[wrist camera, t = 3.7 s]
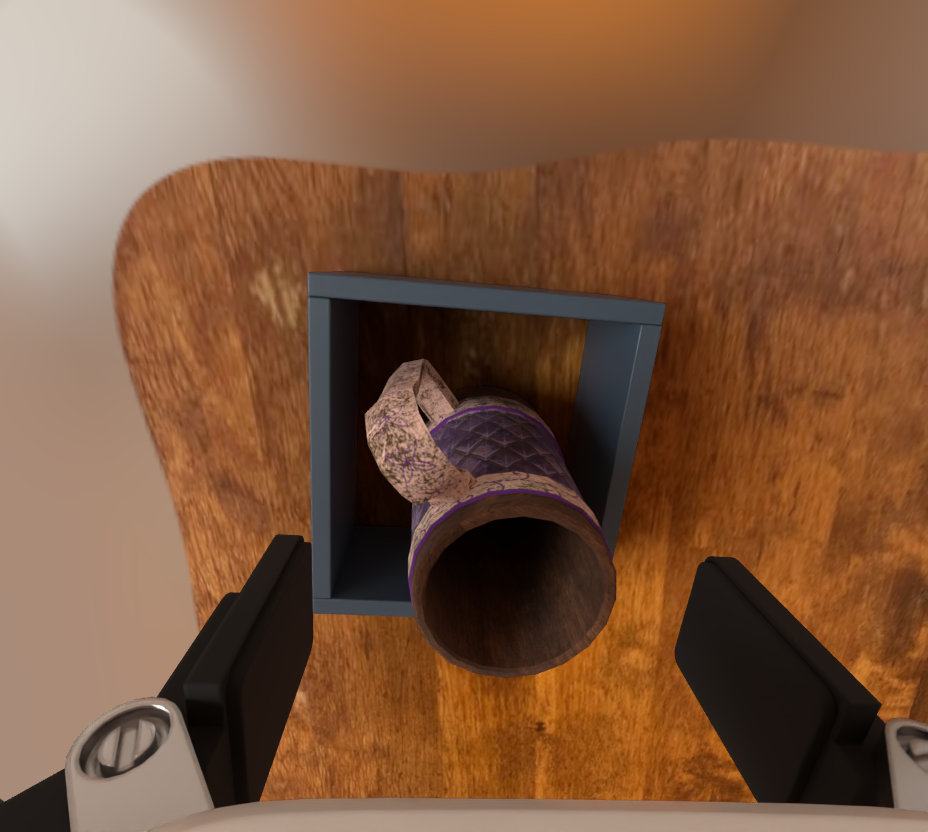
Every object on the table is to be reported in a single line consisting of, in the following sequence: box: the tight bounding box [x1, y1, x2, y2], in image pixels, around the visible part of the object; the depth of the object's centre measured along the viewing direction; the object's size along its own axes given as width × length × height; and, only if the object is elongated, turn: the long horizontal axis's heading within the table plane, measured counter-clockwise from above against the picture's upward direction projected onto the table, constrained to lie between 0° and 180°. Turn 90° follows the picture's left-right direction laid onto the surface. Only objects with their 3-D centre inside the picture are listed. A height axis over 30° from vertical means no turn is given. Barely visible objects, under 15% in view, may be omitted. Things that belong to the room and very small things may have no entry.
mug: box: [365, 359, 616, 678], centre depth 18 cm, size 10×7×12 cm
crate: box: [307, 271, 666, 617], centre depth 21 cm, size 13×14×6 cm
